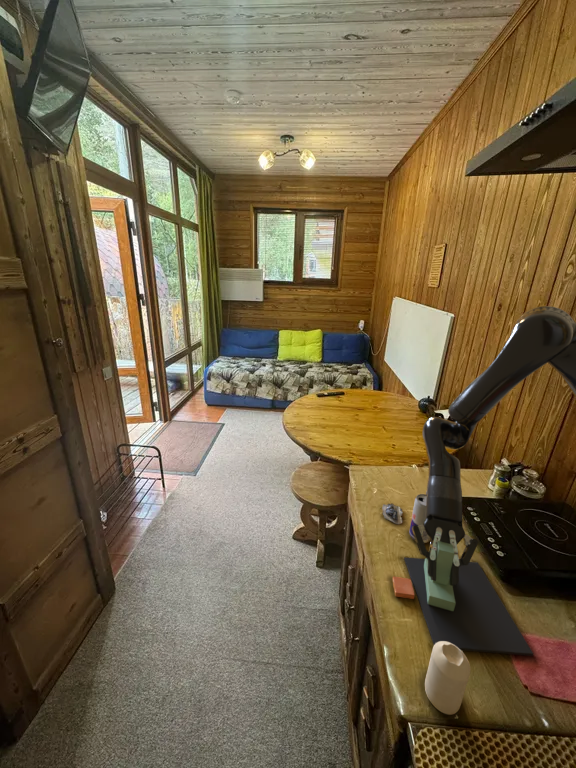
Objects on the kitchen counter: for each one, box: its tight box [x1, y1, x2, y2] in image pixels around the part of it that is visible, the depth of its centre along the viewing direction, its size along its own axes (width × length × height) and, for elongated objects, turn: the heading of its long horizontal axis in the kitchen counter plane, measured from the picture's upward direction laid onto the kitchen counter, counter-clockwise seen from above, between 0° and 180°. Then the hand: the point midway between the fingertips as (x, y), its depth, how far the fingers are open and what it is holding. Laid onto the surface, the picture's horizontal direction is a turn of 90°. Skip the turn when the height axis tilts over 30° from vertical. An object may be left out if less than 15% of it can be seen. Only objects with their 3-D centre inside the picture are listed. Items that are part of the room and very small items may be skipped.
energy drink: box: [408, 493, 431, 544], centre depth 83 cm, size 5×5×12 cm
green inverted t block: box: [424, 541, 455, 612], centre depth 68 cm, size 5×10×12 cm, turn 162°
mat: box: [403, 557, 534, 657], centre depth 67 cm, size 18×20×1 cm
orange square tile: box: [391, 576, 416, 600], centre depth 70 cm, size 4×4×1 cm
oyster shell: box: [381, 503, 403, 525], centre depth 92 cm, size 7×8×2 cm
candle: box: [424, 641, 472, 716], centre depth 50 cm, size 6×6×10 cm
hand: (442, 582), depth 65 cm, fingers closed on green inverted t block, 3 cm apart
